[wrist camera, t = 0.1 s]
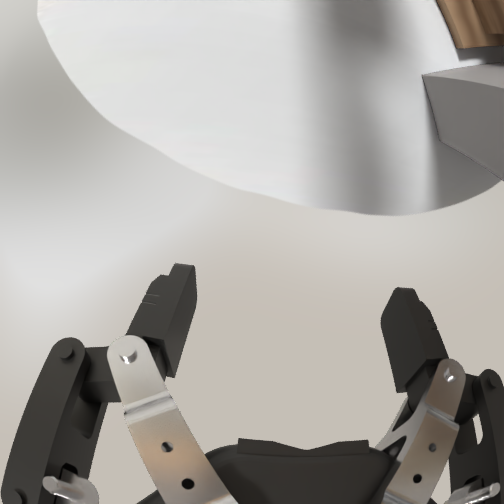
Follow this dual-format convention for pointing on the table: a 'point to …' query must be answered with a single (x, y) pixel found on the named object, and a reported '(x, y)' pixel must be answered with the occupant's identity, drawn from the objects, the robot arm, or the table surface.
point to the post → (474, 22)
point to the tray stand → (471, 112)
